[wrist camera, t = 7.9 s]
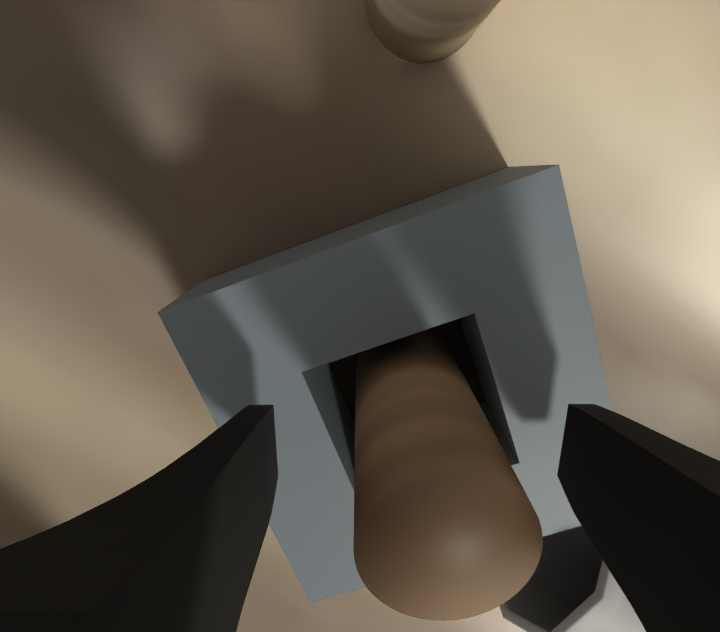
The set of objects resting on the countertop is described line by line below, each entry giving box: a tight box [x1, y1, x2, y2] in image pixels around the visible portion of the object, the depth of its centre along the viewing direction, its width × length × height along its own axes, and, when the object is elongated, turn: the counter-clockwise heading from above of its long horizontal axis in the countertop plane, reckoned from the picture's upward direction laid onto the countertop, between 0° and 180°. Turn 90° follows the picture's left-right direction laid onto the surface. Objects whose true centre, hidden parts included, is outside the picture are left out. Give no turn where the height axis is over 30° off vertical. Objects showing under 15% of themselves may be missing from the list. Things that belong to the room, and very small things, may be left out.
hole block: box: [158, 165, 613, 603], centre depth 14 cm, size 10×10×4 cm
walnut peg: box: [353, 327, 543, 621], centre depth 11 cm, size 3×3×8 cm
